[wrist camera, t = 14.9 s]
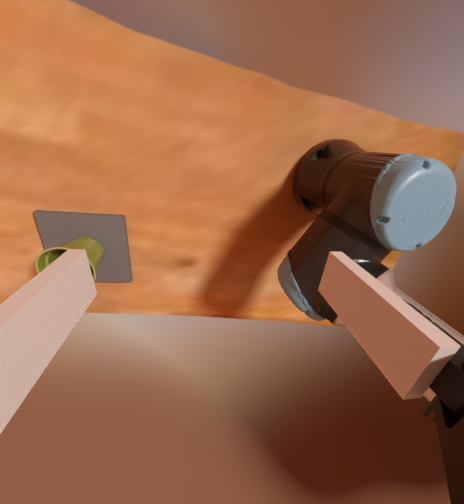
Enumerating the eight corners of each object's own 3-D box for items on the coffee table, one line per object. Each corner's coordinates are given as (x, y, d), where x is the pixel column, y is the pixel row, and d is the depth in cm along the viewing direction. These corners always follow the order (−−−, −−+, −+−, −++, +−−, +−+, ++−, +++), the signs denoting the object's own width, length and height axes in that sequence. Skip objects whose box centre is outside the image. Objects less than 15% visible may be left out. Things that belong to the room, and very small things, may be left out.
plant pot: (78, 272, 48) (56, 298, 40) (52, 235, 43) (21, 255, 36) (119, 262, 48) (105, 285, 40) (98, 223, 44) (77, 241, 36)
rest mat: (124, 215, 45) (123, 217, 44) (132, 279, 52) (131, 282, 51) (36, 210, 42) (32, 211, 41) (57, 279, 49) (54, 281, 48)
